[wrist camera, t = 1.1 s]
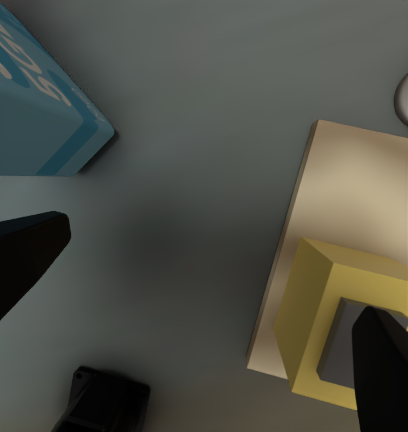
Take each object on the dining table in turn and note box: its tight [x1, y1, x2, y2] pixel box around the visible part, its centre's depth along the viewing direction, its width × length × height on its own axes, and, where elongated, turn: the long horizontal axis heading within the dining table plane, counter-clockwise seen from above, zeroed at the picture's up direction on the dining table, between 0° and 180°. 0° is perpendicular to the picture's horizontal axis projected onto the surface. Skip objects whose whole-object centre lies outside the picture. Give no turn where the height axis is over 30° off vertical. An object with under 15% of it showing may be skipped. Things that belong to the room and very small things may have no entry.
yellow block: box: [273, 237, 408, 410], centre depth 15 cm, size 7×6×6 cm
